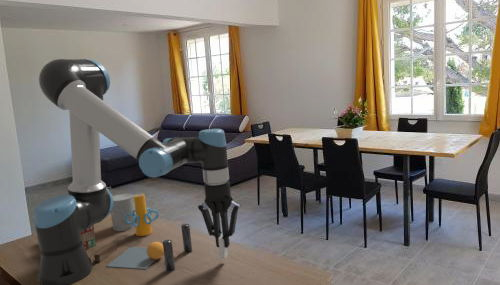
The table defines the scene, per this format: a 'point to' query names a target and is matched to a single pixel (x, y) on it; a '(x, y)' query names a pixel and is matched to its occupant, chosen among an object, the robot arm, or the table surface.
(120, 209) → the white tapered bucket
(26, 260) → the table surface
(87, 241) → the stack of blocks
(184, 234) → the post
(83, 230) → the robot arm
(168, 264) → the post
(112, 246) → the stopper wall
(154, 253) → the ball
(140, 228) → the cylinder
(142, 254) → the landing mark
